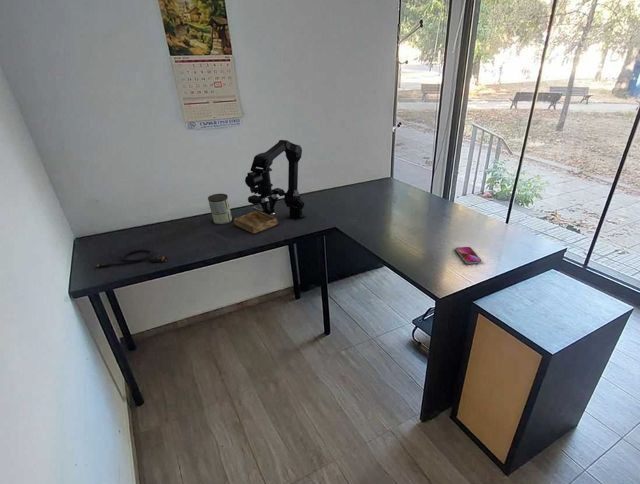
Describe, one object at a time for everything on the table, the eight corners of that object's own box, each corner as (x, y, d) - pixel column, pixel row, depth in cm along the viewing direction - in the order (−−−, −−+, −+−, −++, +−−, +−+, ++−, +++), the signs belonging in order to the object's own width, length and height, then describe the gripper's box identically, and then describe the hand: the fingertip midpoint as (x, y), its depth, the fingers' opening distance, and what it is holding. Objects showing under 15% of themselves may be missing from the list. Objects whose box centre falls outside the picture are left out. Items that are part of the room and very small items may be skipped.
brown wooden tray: (258, 217, 219) (257, 210, 217) (277, 225, 209) (276, 218, 207) (234, 225, 209) (233, 218, 207) (254, 234, 199) (252, 227, 197)
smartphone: (469, 246, 183) (482, 261, 170) (469, 248, 183) (482, 263, 171) (454, 247, 182) (466, 262, 169) (454, 249, 183) (466, 264, 170)
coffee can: (210, 220, 216) (205, 195, 208) (228, 216, 221) (224, 192, 213) (216, 226, 209) (210, 201, 201) (234, 221, 213) (230, 197, 206)
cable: (108, 254, 182) (107, 251, 181) (170, 248, 186) (169, 246, 185) (97, 268, 171) (95, 265, 170) (163, 262, 175) (162, 259, 174)
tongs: (252, 209, 200) (252, 205, 199) (261, 206, 203) (260, 202, 202) (268, 216, 192) (268, 211, 191) (277, 213, 196) (276, 208, 194)
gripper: (270, 174, 198) (273, 203, 206) (239, 183, 186) (244, 213, 194) (283, 178, 191) (287, 208, 200) (252, 187, 180) (257, 219, 188)
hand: (268, 212), depth 196 cm, fingers closed on tongs, 3 cm apart
